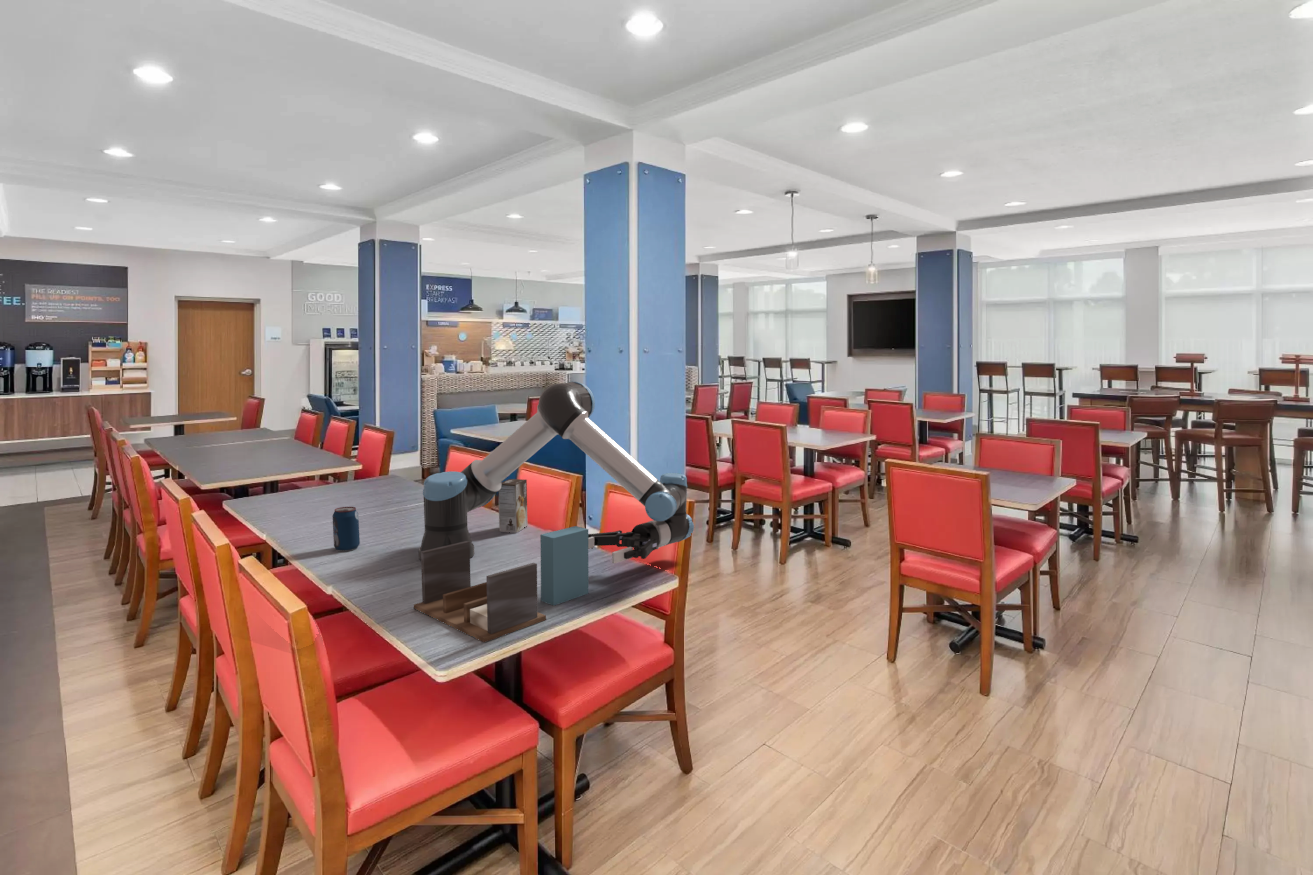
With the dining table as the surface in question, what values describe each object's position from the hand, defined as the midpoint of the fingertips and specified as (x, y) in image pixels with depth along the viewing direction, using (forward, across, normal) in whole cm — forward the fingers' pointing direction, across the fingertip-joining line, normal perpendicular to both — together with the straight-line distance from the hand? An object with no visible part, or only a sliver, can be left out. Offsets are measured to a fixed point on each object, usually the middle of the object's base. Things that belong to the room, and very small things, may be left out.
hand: (593, 552), depth 169 cm
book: (+9, 0, -9) cm, 13 cm away
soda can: (+26, +78, -9) cm, 82 cm away
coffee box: (-22, +60, -9) cm, 64 cm away
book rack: (+29, +6, -9) cm, 31 cm away
